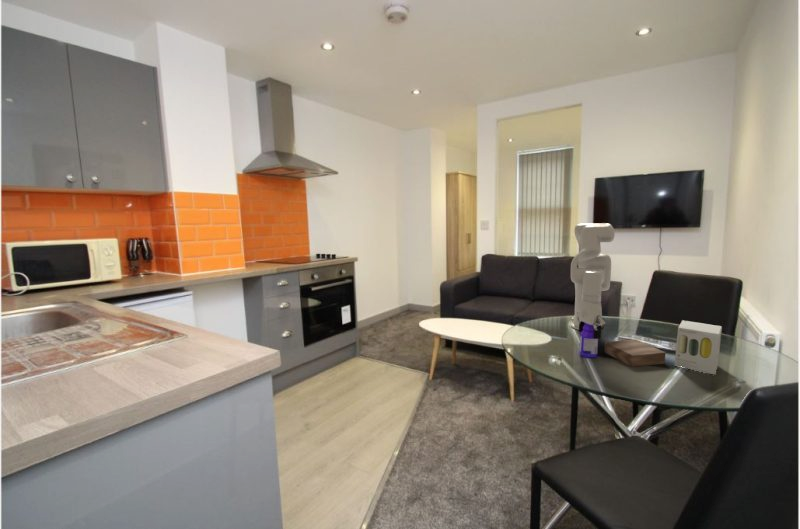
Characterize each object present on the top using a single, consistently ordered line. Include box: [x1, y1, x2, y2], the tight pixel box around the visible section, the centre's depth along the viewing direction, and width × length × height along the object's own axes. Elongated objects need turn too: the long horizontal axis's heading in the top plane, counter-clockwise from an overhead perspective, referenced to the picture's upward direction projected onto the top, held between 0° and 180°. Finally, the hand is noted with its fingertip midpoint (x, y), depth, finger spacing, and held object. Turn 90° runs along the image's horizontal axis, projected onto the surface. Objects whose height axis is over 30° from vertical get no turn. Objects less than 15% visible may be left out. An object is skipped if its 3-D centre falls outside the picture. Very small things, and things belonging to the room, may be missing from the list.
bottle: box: [579, 323, 599, 359], centre depth 160 cm, size 7×6×17 cm
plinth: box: [604, 339, 666, 368], centre depth 158 cm, size 16×16×5 cm
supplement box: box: [674, 319, 723, 375], centre depth 147 cm, size 13×13×18 cm
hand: (589, 335), depth 159 cm, fingers open, 9 cm apart
